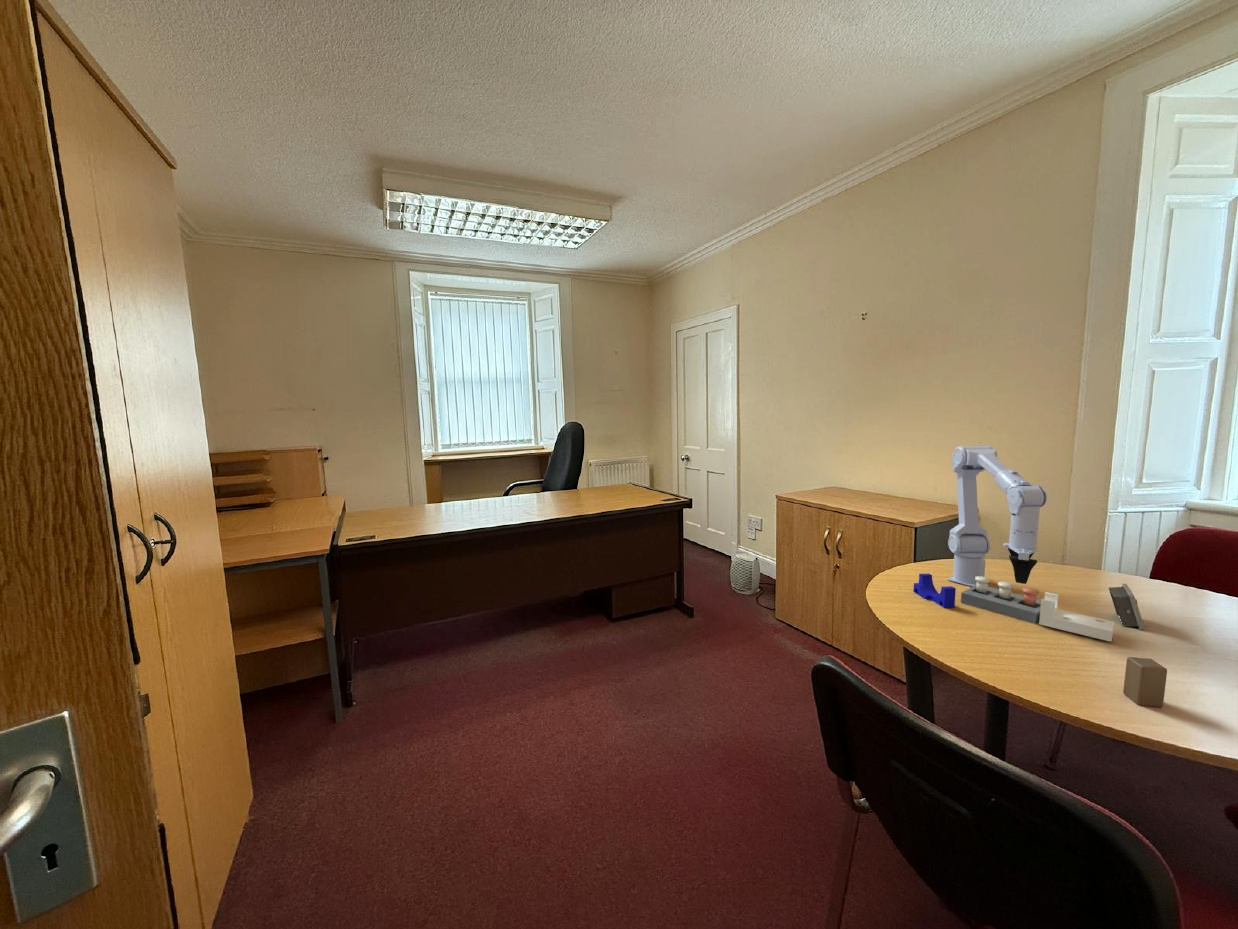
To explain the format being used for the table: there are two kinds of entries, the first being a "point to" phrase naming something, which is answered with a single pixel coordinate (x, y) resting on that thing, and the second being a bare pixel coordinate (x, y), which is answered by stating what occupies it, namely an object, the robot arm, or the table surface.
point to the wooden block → (1145, 681)
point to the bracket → (1073, 620)
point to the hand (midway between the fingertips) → (1020, 578)
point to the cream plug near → (982, 583)
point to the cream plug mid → (1005, 589)
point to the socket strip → (1002, 604)
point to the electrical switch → (1126, 606)
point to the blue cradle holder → (929, 591)
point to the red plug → (1030, 596)
